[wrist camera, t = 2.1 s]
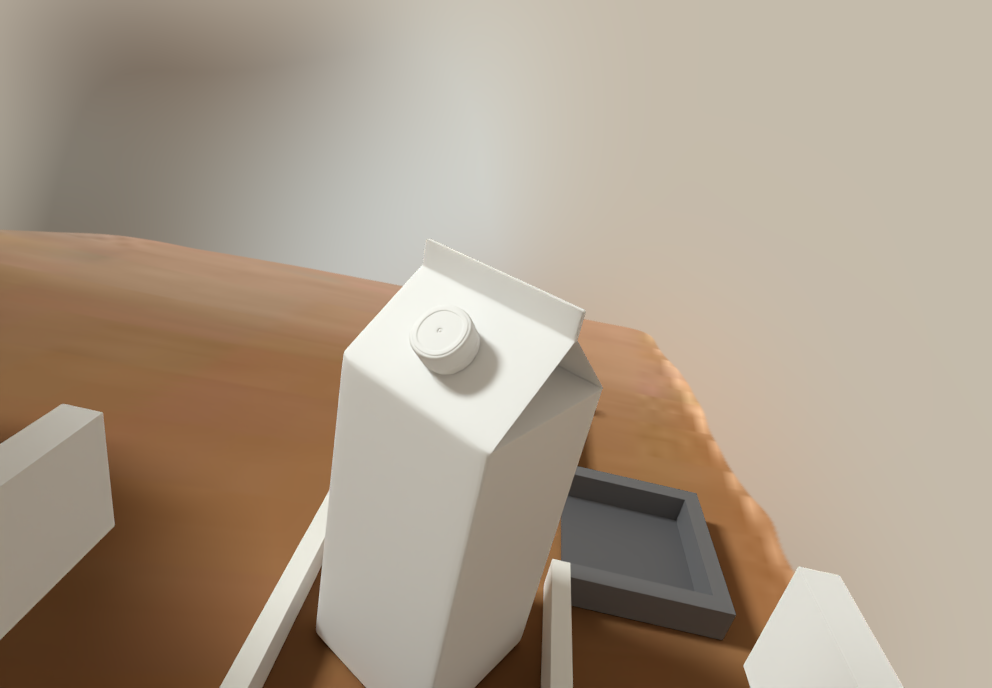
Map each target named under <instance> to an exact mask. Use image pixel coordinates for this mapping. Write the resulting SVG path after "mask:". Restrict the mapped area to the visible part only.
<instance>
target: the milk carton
mask: <svg viewBox="0 0 992 688" xmlns="http://www.w3.org/2000/svg"><path fill="white" fill-rule="evenodd" d="M584 316H585V310H584V309H582V308H580V307H578V306H576V305H573V304H571V303H569V302H567V301H564V300H562V299H560V298H558V297H556V296H554V295H551V294H549V293H547V292H545V291H543V290H541V289H538V288H536V287H534V286H532V285H530V284H528V283H526V282H523V281H521V280H519V279H517V278H515V277H512V276H510V275H508V274H506V273H504V272H502V271H500V270H497V269H495V268H493V267H491V266H488V265H486V264H484V263H482V262H480V261H478V260H475V259H473V258H471V257H469V256H467V255H465V254H462V253H460V252H458V251H456V250H454V249H452V248H449V247H447V246H445V245H443V244H441V243H439V242H436V241H434V240H432V239H427V240H426V245H425V251H424V257H423V264H422V266H421V267H420V268H419V269H418V270H417V272H415V274H414V275H413V276H412V277H411V278H410V279H409V280H408V281H407V282H406V284H405V285H404V286H403V287H402V288H401V289H400V290H399V291H398V292H397V294H396V295H395V296H394V297H393V298H392V299H391V300H390V301H389V302H388V304H387V305H386V306H385V307H384V308H383V309H382V310H381V311H380V312H379V313H378V315H377V316H376V317H375V318H374V319H373V320H372V321H371V322H370V323H369V325H368V326H367V327H366V328H365V329H364V330H363V331H362V332H361V333H360V334H359V336H358V337H357V338H356V339H355V340H354V341H353V342H352V343H351V345H350V346H349V347H348V348H347V349H346V350H345V352H344V356H343V363H342V372H341V382H340V391H339V401H338V412H337V422H336V432H335V442H334V452H333V462H332V472H331V482H330V492H329V502H328V512H327V522H326V532H325V542H324V552H323V562H322V572H321V582H320V592H319V602H318V612H317V622H316V632H317V634H318V635H319V636H320V638H321V639H322V640H323V641H324V642H325V643H326V644H327V645H328V647H329V648H330V649H331V650H332V651H333V652H334V653H335V654H336V655H337V656H338V658H339V659H340V660H341V661H342V662H343V663H344V664H345V665H346V666H347V667H348V668H349V670H350V671H351V672H352V673H353V674H354V675H355V676H356V677H357V678H358V679H359V681H360V682H361V683H362V684H363V685H364V686H365V687H366V688H475V687H476V686H477V685H478V683H479V682H480V681H481V680H482V679H483V678H484V677H485V676H486V675H487V674H488V673H489V672H490V671H491V670H492V669H493V668H494V667H495V666H496V665H497V664H498V663H499V662H500V661H501V660H502V659H503V658H504V657H505V656H506V655H507V654H508V653H509V652H510V651H511V650H512V649H513V648H514V647H515V646H516V645H517V644H518V643H519V641H520V640H521V638H522V635H523V632H524V629H525V626H526V622H527V619H528V616H529V613H530V610H531V607H532V604H533V601H534V598H535V595H536V592H537V589H538V585H539V582H540V579H541V576H542V573H543V570H544V567H545V564H546V561H547V558H548V555H549V552H550V549H551V545H552V542H553V539H554V536H555V533H556V530H557V527H558V524H559V521H560V518H561V515H562V512H563V508H564V505H565V502H566V499H567V496H568V493H569V490H570V487H571V484H572V481H573V478H574V475H575V472H576V468H577V465H578V462H579V459H580V456H581V453H582V450H583V447H584V444H585V441H586V438H587V435H588V431H589V428H590V425H591V422H592V419H593V416H594V413H595V410H596V407H597V404H598V401H599V398H600V395H601V391H602V389H603V387H602V385H601V383H600V381H599V380H598V378H597V376H596V374H595V372H594V370H593V369H592V367H591V365H590V363H589V361H588V359H587V357H586V356H585V354H584V352H583V350H582V348H581V346H580V344H579V343H578V337H579V333H580V330H581V326H582V323H583V320H584Z"/></svg>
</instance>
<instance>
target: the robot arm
mask: <svg viewBox="0 0 992 688" xmlns="http://www.w3.org/2000/svg"><path fill="white" fill-rule="evenodd" d="M114 526H115V522H114V513H113V503H112V494H111V484H110V475H109V466H108V456H107V447H106V438H105V428H104V419H103V412H98V411H94V410H89V409H85V408H80V407H76V406H71V405H67V404H61V405H60V406H58V407H57V408H55V409H54V410H52V411H51V412H49V413H47V414H46V415H44V416H43V417H41V418H40V419H38V420H37V421H35V422H33V423H32V424H30V425H29V426H27V427H26V428H24V429H23V430H21V431H20V432H18V433H16V434H15V435H13V436H12V437H10V438H9V439H7V440H6V441H4V442H3V443H1V444H0V640H1V639H2V638H3V637H4V636H5V635H6V634H7V633H8V632H9V631H10V630H11V629H12V628H13V627H14V626H15V625H16V624H17V623H18V622H19V621H20V620H21V619H22V618H23V617H24V616H25V615H26V614H27V613H28V612H29V611H30V610H31V609H32V608H33V607H34V606H35V605H36V604H37V603H38V602H39V601H40V600H41V599H42V598H43V597H44V596H45V595H46V594H47V593H48V592H49V591H50V590H51V589H52V588H53V587H54V586H55V585H56V584H57V583H58V582H59V581H60V580H61V579H62V578H63V577H64V576H65V575H66V574H67V573H68V572H69V571H70V570H71V569H72V568H73V567H74V566H75V565H76V564H77V563H78V562H79V561H80V560H81V559H82V558H83V557H84V556H85V555H86V554H87V553H88V552H89V551H90V550H91V549H92V548H93V547H94V546H95V545H96V544H97V543H98V542H99V541H100V540H101V539H102V538H103V537H104V536H105V535H106V534H107V533H108V532H109V531H110V530H111V529H112V528H113V527H114ZM743 666H744V669H745V672H746V675H747V679H748V682H749V685H750V688H904V687H903V685H902V684H901V682H900V680H899V678H898V677H897V675H896V673H895V671H894V670H893V668H892V666H891V664H890V663H889V661H888V659H887V657H886V656H885V654H884V652H883V651H882V649H881V647H880V645H879V643H878V642H877V640H876V638H875V636H874V635H873V633H872V631H871V629H870V628H869V626H868V625H867V622H866V621H865V619H864V617H863V615H862V614H861V612H860V610H859V608H858V607H857V605H856V603H855V601H854V600H853V598H852V596H851V594H850V593H849V591H848V589H847V588H846V586H845V584H844V582H843V581H842V579H841V577H840V576H839V575H836V574H831V573H827V572H822V571H817V570H813V569H809V568H803V567H798V568H797V570H796V572H795V574H794V575H793V577H792V579H791V581H790V583H789V584H788V586H787V588H786V590H785V592H784V593H783V595H782V597H781V599H780V601H779V602H778V604H777V606H776V608H775V610H774V611H773V613H772V615H771V617H770V619H769V620H768V622H767V624H766V626H765V628H764V629H763V631H762V633H761V635H760V637H759V638H758V640H757V642H756V644H755V646H754V647H753V649H752V651H751V653H750V655H749V656H748V658H747V660H746V662H745V664H744V665H743Z"/></svg>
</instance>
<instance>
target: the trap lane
mask: <svg viewBox="0 0 992 688" xmlns="http://www.w3.org/2000/svg"><path fill="white" fill-rule="evenodd" d="M329 492H330V490H329ZM329 492H328V494H327V496H326V497H325V499H324V501H323V503H322V505H321V506H320V508H319V510H318V512H317V514H316V515H315V517H314V519H313V521H312V523H311V524H310V526H309V528H308V530H307V532H306V533H305V535H304V537H303V539H302V540H301V542H300V544H299V546H298V548H297V549H296V551H295V553H294V555H293V557H292V558H291V560H290V562H289V564H288V566H287V567H286V569H285V571H284V573H283V575H282V576H281V578H280V580H279V582H278V584H277V585H276V587H275V589H274V591H273V593H272V594H271V596H270V598H269V600H268V602H267V603H266V605H265V607H264V609H263V611H262V612H261V614H260V616H259V618H258V620H257V621H256V623H255V625H254V627H253V628H252V630H251V632H250V634H249V636H248V637H247V639H246V641H245V643H244V645H243V646H242V648H241V650H240V652H239V654H238V655H237V657H236V659H235V661H234V663H233V664H232V666H231V668H230V670H229V672H228V673H227V675H226V677H225V679H224V681H223V682H222V684H221V686H220V688H262V687H263V685H264V683H265V681H266V679H267V677H268V675H269V673H270V671H271V669H272V667H273V665H274V662H275V660H276V658H277V656H278V654H279V652H280V650H281V648H282V646H283V644H284V642H285V640H286V638H287V636H288V634H289V632H290V630H291V628H292V625H293V623H294V621H295V619H296V617H297V615H298V613H299V611H300V609H301V607H302V605H303V603H304V601H305V599H306V597H307V595H308V593H309V591H310V589H311V586H312V584H313V582H314V580H315V578H316V576H317V574H318V572H319V570H320V568H321V566H322V562H323V552H324V542H325V532H326V522H327V512H328V502H329ZM571 606H576V607H580V608H584V609H589V610H593V611H597V612H602V613H606V614H610V615H615V616H619V617H624V618H628V619H632V620H637V621H641V622H645V623H650V624H654V625H658V626H663V627H667V628H671V629H676V630H680V631H684V632H689V633H693V634H697V635H702V636H706V637H710V638H715V639H719V640H723V638H724V637H725V635H726V633H727V631H728V629H729V627H730V626H731V624H732V622H733V620H734V618H735V616H736V613H735V610H734V607H733V604H732V601H731V598H730V595H729V592H728V589H727V585H726V582H725V579H724V576H723V573H722V570H721V567H720V564H719V561H718V558H717V555H716V552H715V549H714V546H713V543H712V540H711V537H710V533H709V530H708V527H707V524H706V521H705V518H704V515H703V512H702V509H701V506H700V503H699V500H698V497H697V494H696V493H692V492H688V491H684V490H679V489H675V488H670V487H666V486H662V485H657V484H653V483H649V482H644V481H640V480H636V479H631V478H627V477H622V476H618V475H614V474H609V473H605V472H601V471H596V470H592V469H587V468H583V467H579V466H577V468H576V472H575V475H574V478H573V481H572V484H571V487H570V490H569V493H568V496H567V499H566V502H565V505H564V508H563V512H562V515H561V561H560V560H556V559H552V562H551V565H550V568H549V571H548V574H547V577H546V580H545V583H544V597H543V629H542V661H541V688H573V666H572V619H571Z"/></svg>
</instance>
